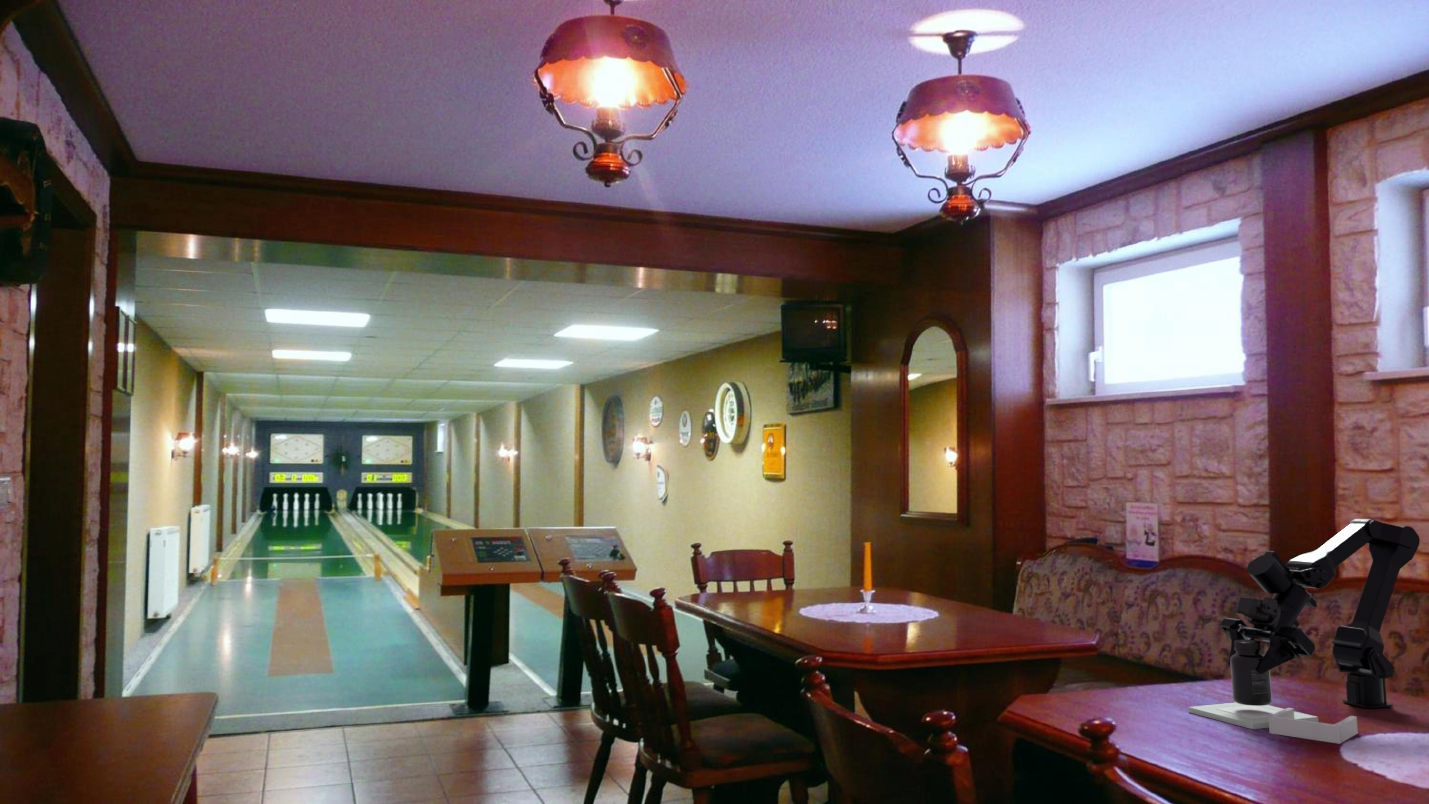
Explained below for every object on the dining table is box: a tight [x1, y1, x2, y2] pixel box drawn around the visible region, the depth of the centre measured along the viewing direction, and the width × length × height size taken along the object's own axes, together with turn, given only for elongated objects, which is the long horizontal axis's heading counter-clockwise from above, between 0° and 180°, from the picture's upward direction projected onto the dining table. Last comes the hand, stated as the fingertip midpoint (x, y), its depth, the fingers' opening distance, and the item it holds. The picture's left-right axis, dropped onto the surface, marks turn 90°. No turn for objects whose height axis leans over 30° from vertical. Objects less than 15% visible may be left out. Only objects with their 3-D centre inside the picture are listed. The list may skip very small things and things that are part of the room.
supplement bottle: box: [1230, 639, 1273, 706], centre depth 202 cm, size 7×7×12 cm
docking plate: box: [1188, 701, 1319, 730], centre depth 201 cm, size 16×16×1 cm
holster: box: [1268, 707, 1359, 745], centre depth 187 cm, size 10×12×3 cm
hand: (1244, 669), depth 201 cm, fingers closed on supplement bottle, 7 cm apart
